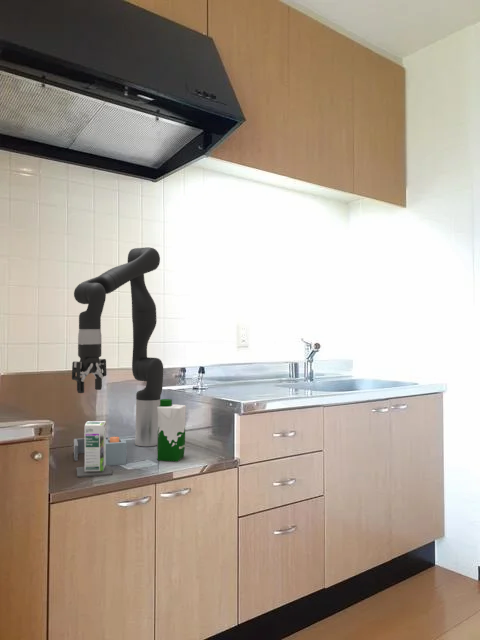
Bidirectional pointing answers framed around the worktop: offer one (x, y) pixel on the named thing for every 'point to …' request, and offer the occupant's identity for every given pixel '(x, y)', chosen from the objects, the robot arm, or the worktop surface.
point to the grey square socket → (116, 452)
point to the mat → (95, 473)
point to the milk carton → (171, 431)
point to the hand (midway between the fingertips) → (89, 391)
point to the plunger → (114, 439)
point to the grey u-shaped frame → (80, 447)
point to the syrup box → (95, 446)
